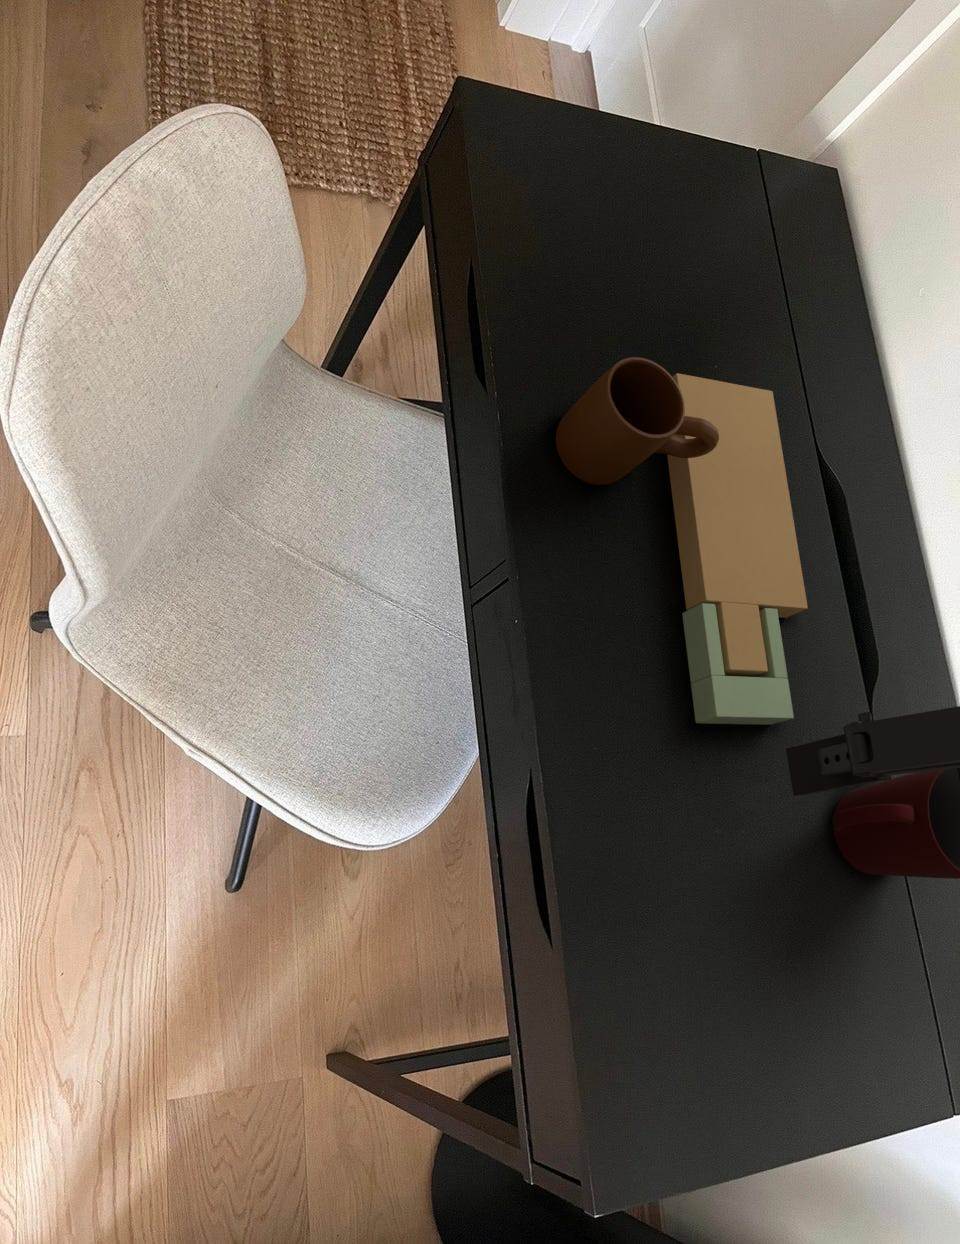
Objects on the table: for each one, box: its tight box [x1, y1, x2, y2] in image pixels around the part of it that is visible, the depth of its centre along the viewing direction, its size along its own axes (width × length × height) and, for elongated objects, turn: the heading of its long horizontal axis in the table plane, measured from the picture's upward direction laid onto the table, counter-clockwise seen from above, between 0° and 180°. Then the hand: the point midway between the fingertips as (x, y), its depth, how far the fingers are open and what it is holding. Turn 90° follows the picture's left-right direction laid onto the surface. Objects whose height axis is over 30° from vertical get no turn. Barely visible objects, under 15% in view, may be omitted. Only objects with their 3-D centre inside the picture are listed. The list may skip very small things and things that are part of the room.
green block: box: [681, 603, 795, 726], centre depth 80 cm, size 10×8×3 cm
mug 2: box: [832, 768, 960, 880], centre depth 77 cm, size 12×9×11 cm
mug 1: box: [555, 356, 719, 486], centre depth 79 cm, size 12×8×9 cm, turn 78°
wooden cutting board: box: [666, 372, 808, 677], centre depth 84 cm, size 11×28×3 cm, turn 3°
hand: (881, 771), depth 56 cm, fingers open, 13 cm apart
